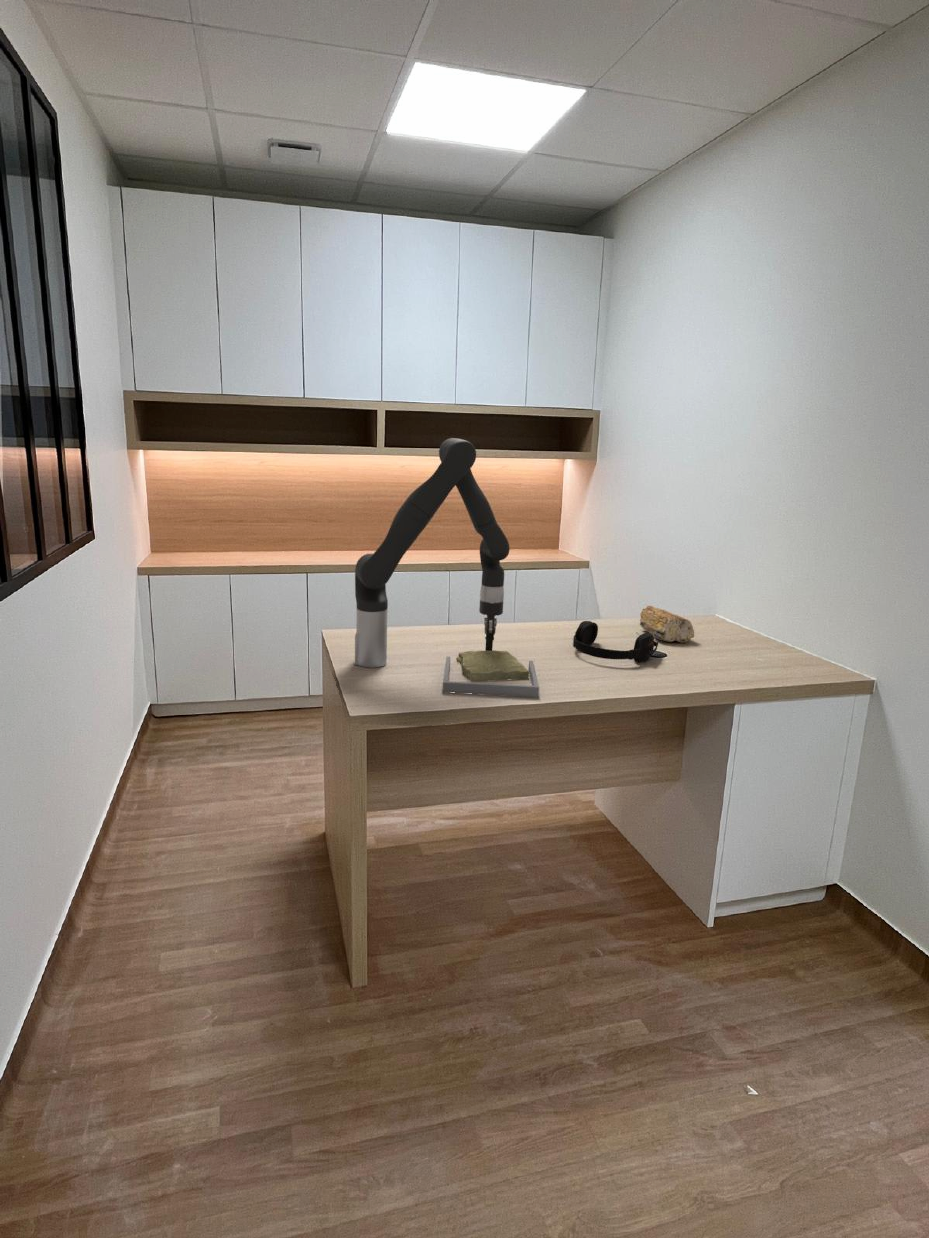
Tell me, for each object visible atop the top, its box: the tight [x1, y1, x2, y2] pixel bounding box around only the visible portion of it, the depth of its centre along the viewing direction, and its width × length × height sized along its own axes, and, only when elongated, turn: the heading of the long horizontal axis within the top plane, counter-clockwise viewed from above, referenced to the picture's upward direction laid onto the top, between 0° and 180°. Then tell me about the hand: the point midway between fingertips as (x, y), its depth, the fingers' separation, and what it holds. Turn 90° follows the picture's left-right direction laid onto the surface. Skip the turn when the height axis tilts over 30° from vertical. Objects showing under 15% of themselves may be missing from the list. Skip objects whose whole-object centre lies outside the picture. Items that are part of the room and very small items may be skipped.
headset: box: [572, 620, 659, 664], centre depth 245 cm, size 28×26×9 cm
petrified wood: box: [639, 605, 695, 644], centre depth 269 cm, size 19×13×10 cm
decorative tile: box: [455, 649, 530, 682], centre depth 225 cm, size 19×20×4 cm
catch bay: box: [442, 656, 540, 698], centre depth 215 cm, size 26×23×3 cm
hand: (488, 650), depth 239 cm, fingers closed
